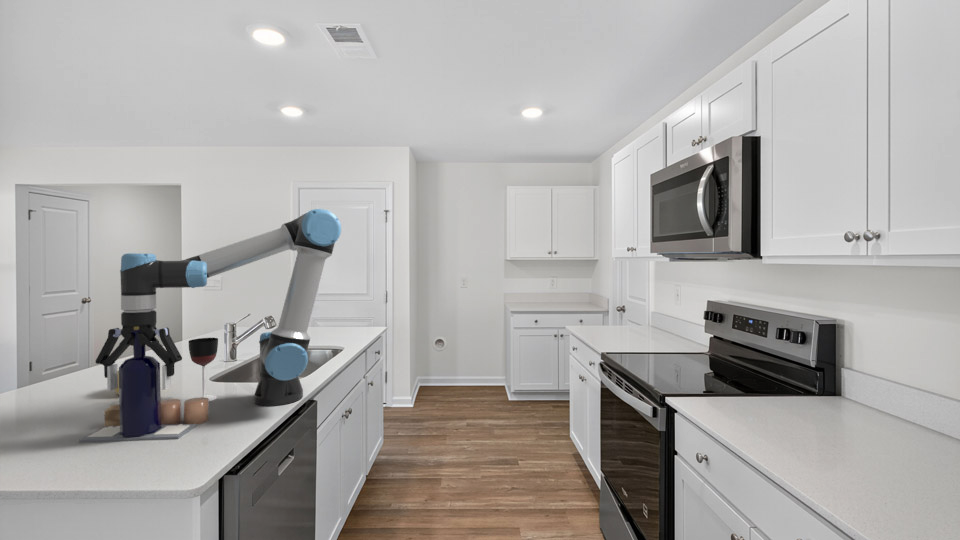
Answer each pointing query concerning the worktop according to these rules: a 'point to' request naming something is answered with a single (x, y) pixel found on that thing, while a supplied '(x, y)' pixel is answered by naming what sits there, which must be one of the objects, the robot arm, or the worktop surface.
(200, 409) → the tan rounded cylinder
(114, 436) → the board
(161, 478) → the worktop surface
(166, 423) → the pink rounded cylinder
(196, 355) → the wineglass
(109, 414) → the oak box
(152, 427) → the bottle
